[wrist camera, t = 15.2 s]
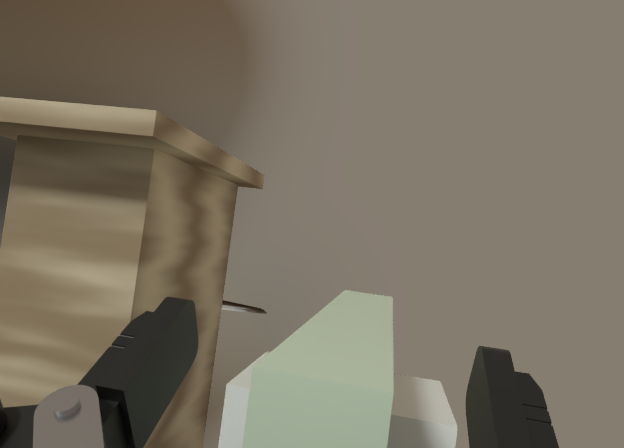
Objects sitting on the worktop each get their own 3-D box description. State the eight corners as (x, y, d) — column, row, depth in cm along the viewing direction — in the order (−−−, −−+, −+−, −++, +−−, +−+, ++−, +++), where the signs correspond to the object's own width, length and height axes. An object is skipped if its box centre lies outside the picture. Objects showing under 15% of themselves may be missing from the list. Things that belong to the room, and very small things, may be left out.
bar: (375, 541, 11) (393, 392, 11) (234, 508, 12) (252, 367, 12) (386, 344, 35) (392, 297, 35) (339, 337, 36) (345, 290, 36)
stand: (57, 994, 17) (180, 112, 18) (-211, 878, 19) (-86, 89, 20) (222, 626, 34) (281, 178, 35) (69, 585, 36) (130, 162, 37)
